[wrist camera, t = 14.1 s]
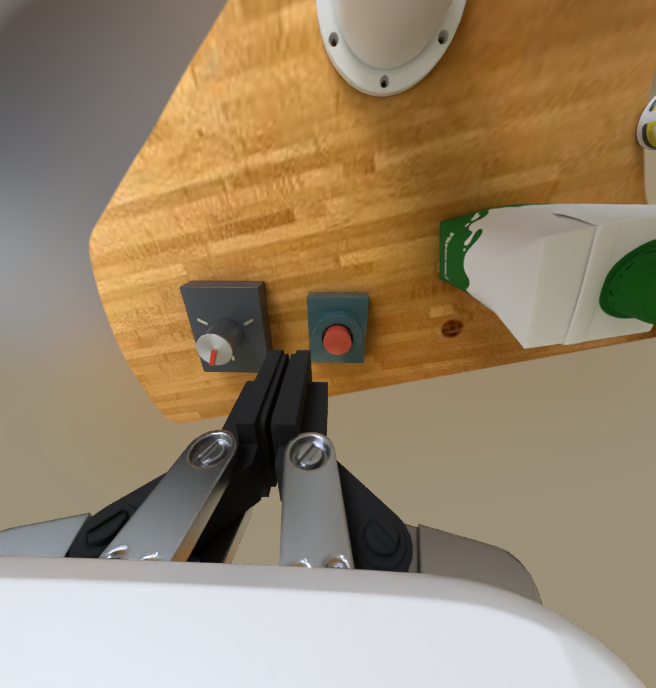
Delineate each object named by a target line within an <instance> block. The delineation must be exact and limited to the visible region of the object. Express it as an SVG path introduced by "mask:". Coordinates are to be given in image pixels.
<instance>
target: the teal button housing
mask: <svg viewBox="0 0 656 688" xmlns="http://www.w3.org/2000/svg"><path fill="white" fill-rule="evenodd" d="M307 304H308V327H309V350H310V351H311V362H337V363H364V356H365V343H366V330H367V318H368V305H369V297H368V294H367V293H324V292H309V294H308V297H307ZM334 325H341V326H344V327H346V328H347V329H348V330H349V332H350V334H351V342H352V343H351V347H350V349H349V350H348V351H347V352H346V353H344V354H341V355H333V354H331V353H329V352H328V351H327V350H326V349H325V347H324V344H323V341H324V334H325V331H326V330H327V329H328V328H329V327H331V326H334Z"/></svg>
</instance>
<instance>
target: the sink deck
mask: <svg viewBox="0 0 656 688" xmlns="http://www.w3.org/2000/svg"><path fill="white" fill-rule="evenodd" d="M180 290H181V294H182V297H183V301H184V304H185V307H186V311H187V314H188V318H189V321H190V325H191V328H192V332H193V335H194V338H195V342H196V344H197V341H198V339H199V338H200V337H201V336H202V335H203V334H204V333H205V332H206V331H207V330H208V329H209V328H210V327H211V326H212V325H213V324H214V323H215V322H217V321H219V320H222V319H227V320H231V321H234V322H235V323H237V324H238V325H239V326H240V327H241V328H242V330H243V333H244V340H243V342H242V344H241V345H240V347H239V348H238V350H237V351H236V353H235V354H234V355H233V357H232V358H231V360H230V361H229V362H228V363H226V364H223V365H214V366H212V365H209V363H208V362H206V361H205V360H203V359H202V358H201V357H200V359H201V362H202V366H203V369H204V372H254V373H258V372H259V370H260V368H261V366H262V364H263V362H264V360H265V358H266V355H267V353H268V351H269V350H273V349H272V341H271V334H270V326H269V318H268V310H267V302H266V294H265V286H264V281H190V282H188V283H186V284H184V285H182V286H181V287H180ZM199 356H200V355H199Z"/></svg>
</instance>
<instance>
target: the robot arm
mask: <svg viewBox="0 0 656 688" xmlns="http://www.w3.org/2000/svg"><path fill="white" fill-rule="evenodd" d="M465 4H466V0H316V6H317V16H318V22H319V29H320V33H321V36H322V40H323V43H324V47H325V49H326V52H327V54H328V56H329V58H330V60H331V62H332V64H333V66H334V67H335V69H336V70H337V71H338V73H339V74H340V76H341V77H342V78H343V79H344V80H345V81H346V82H347V83H348V84H349V85H350V86H352V87H354V88H355V89H357V90H358V91H360V92H362V93H365V94H368V95H371V96H382V97H386V96H391V95H396V94H399V93H401V92H404V91H406V90H408V89H410V88H412V87H413V86H414V85H416V84H417V83H418V82H420V81H421V80H422V79H423V78H424V77H425V76H426V75H427V74H428V73H429V72H430V71H431V70H432V69H433V68H434V67H435V65H436V64H437V62H438V61H439V60H440V58H441V57H442V56H443V54H444V53H445V51H446V49H447V48H448V46H449V45H450V43H451V41H452V39H453V37H454V34H455V32H456V30H457V27H458V25H459V23H460V20H461V17H462V14H463V10H464V7H465ZM439 39H441V40H442V44H440V43H439V42H438V40H439ZM332 42H336V44H337V45H336V46H335V47H333V46H331V43H332ZM382 82H384V83H385V84H386V87H385V88H382V87H381V83H382ZM327 415H328V382H312V370H311V351H310V350H297V351H296V354H291V357H290V360H289V355H288V354H284V351H283V350H269V351H268V353H267V355H266V358H265V360H264V362H263V364H262V366H261V368H260V370H259V372H258V374H257V377H256V379H255V381H247V382H246V384H245V385H244V387H243V389H242V391H241V393H240V395H239V397H238V399H237V401H236V403H235V405H234V407H233V409H232V411H231V413H230V414H229V416H228V418H227V421H226V422H225V424H224V426H223V428H222V430H215V431H209V432H207V433H205V434H202V435H201V436H199V437H198V438H196V439H195V440H193V441H192V442H191V444H189V446H188V447H187V448H186V449H185V450H184V452H183V453H182V454H181V455H180V457H179V458H178V459H177V460H176V462H175V463H174V464H173V466H172V467H171V468H170V469H169V471H168V472H166V473H164V474H163V475H161V476H159V477H158V478H156V479H154V480H152V481H150V482H149V483H147V484H145V485H144V486H142V487H140V488H138V489H136V490H135V491H133V492H131V493H130V494H128V495H126V496H124V497H122V498H121V499H119V500H117V501H115V502H114V503H112V504H110V505H108V506H107V507H105V508H104V509H102V510H101V511H99V512H98V513H96V514H95V515H94V516H92V515H91V514H90V513H85V514H80V515H75V516H70V517H65V518H59V519H54V520H50V521H44V522H39V523H34V524H29V525H24V526H19V527H13V528H9V529H5V530H2V531H0V688H648V687H647V686H646V685H645V684H644V683H643V682H642V680H641V679H640V678H639V677H638V676H637V675H636V674H635V673H634V672H633V671H632V670H631V669H630V668H629V667H628V666H627V665H626V664H625V663H624V661H622V659H621V658H620V657H619V656H617V655H616V654H615V653H614V652H613V651H612V650H611V649H609V648H608V647H607V646H606V645H605V644H603V643H602V642H601V641H599V640H598V639H597V638H595V637H594V636H593V635H592V634H590V633H589V632H587V631H586V630H584V629H583V628H581V627H580V626H578V625H576V624H575V623H573V622H572V621H570V620H569V619H567V618H566V617H564V616H562V615H560V614H559V613H557V612H555V611H553V610H551V609H549V608H547V607H546V606H543V604H542V602H541V598H540V595H539V592H538V589H537V587H536V585H535V583H534V581H533V579H532V577H531V575H530V573H529V572H528V571H527V569H526V568H525V567H524V566H523V564H522V563H521V562H520V561H519V560H518V559H517V558H515V557H514V556H513V555H512V554H510V553H509V552H507V551H506V550H503V549H501V548H499V547H497V546H493V545H490V544H487V543H483V542H480V541H476V540H473V539H469V538H466V537H462V536H459V535H455V534H452V533H448V532H445V531H441V530H438V529H434V528H431V527H428V526H424V525H420V524H419V525H418V527H414V526H411V525H407V524H404V523H403V522H402V520H401V519H400V518H399V517H398V516H397V515H396V514H395V513H394V512H393V511H392V510H390V509H389V508H388V507H387V506H386V505H385V504H384V503H383V502H382V501H381V500H380V499H378V498H377V497H376V496H375V495H374V494H373V493H372V492H371V491H370V490H369V489H368V488H366V487H365V486H364V485H363V484H362V483H361V482H360V481H359V480H358V479H356V478H355V477H354V476H353V475H352V474H351V473H350V472H349V471H348V470H347V469H346V468H345V467H344V466H342V465H341V464H340V463H339V462H338V461H337V460H336V454H335V449H334V446H333V443H332V442H331V441H330V439H329V438H328V437H326V436H327ZM277 481H278V488H279V493H280V500H281V502H282V515H281V538H280V560H279V566H272V565H271V566H270V565H249V564H231V563H232V561H233V559H234V556H235V554H236V551H237V549H238V547H239V544H240V542H241V539H242V537H243V535H244V532H245V530H246V527H247V525H248V523H249V520H250V518H251V515H252V511H253V506H254V505H255V504H256V503H258V502H259V501H260V500H261V497H269V493H270V489H271V487H276V485H277Z"/></svg>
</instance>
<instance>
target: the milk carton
mask: <svg viewBox="0 0 656 688" xmlns="http://www.w3.org/2000/svg"><path fill="white" fill-rule="evenodd" d="M440 280H442V281H445V282H447V283H449V284H451V285H453V286H455V287H457V288H459V289H461V290H463V291H464V292H466V293H467V294H469V295H470V296H472V297H473V298H475V299H476V300H478V301H479V302H481V303H482V304H483V305H485V306H486V307H488V308H489V309H491V310H492V311H494V312H495V313H496V314H497V316H498V317H499V318H500V319H501V320H502V322H503V323H504V324H505V325H506V327H507V328H508V329H509V330H510V332H511V333H512V334H513V335H514V336H515V338H516V339H517V340H518V341H519V343H520V344H521V345H522V346H523V348H524V349H526V348H533V347H540V346H547V345H554V344H564V345H569V344H576V343H581V342H584V341H590V340H597V339H603V338H610V337H616V336H623V335H629V334H635V333H642V332H648V331H650V330H651V328H652V326H653V325H656V205H637V204H630V205H620V204H515V205H507V206H501V207H496V208H490V209H486V210H481V211H478V212H474V213H470V214H467V215H463V216H460V217H456V218H453V219H449V220H445V221H442V222H440Z"/></svg>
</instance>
